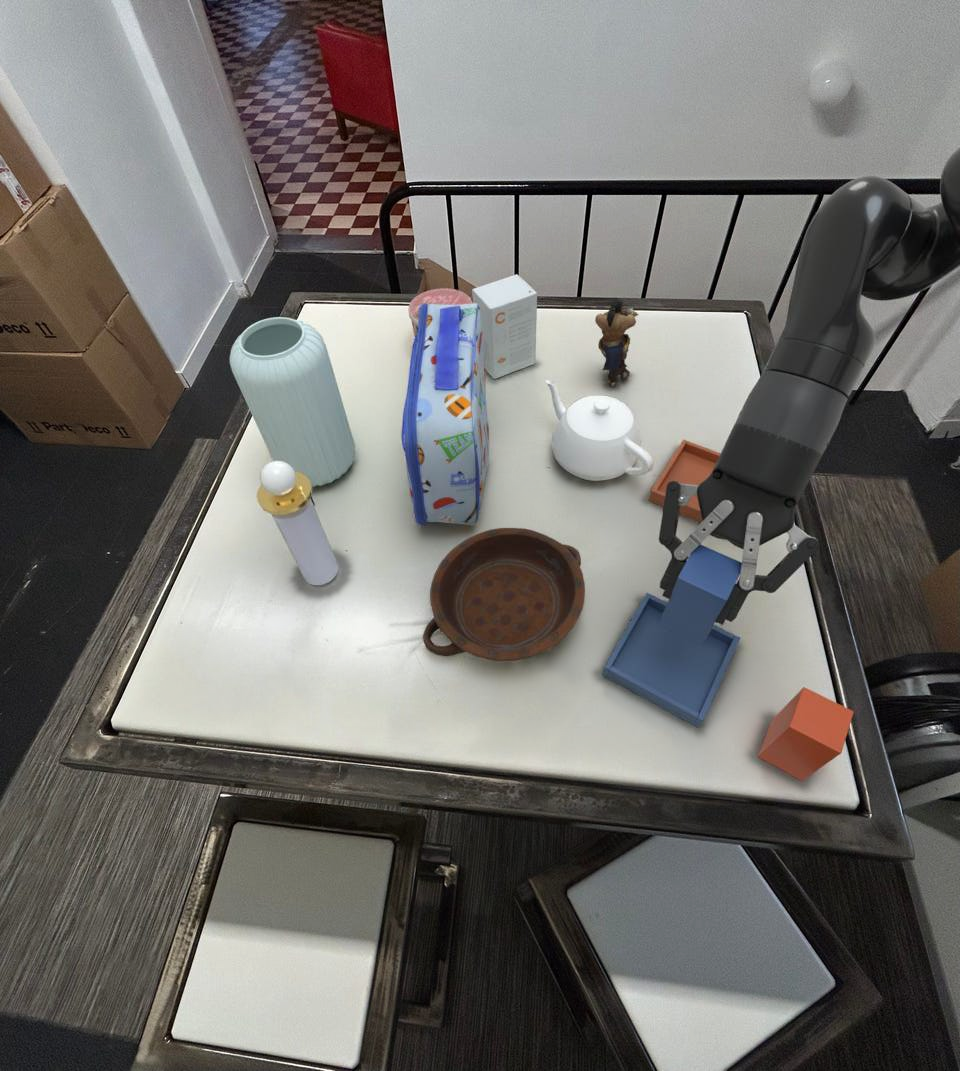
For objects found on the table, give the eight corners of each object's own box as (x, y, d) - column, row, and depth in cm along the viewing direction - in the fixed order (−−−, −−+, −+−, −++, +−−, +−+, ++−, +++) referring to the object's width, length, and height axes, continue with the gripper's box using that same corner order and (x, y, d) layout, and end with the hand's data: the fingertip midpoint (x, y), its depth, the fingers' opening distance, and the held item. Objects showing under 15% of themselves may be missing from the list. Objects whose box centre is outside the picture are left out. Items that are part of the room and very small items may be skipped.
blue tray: (735, 645, 70) (740, 637, 68) (698, 727, 65) (703, 720, 63) (643, 601, 74) (646, 592, 72) (602, 674, 69) (604, 667, 67)
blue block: (717, 612, 62) (744, 563, 55) (701, 647, 60) (727, 600, 53) (675, 592, 64) (696, 542, 56) (658, 625, 62) (677, 577, 54)
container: (401, 351, 105) (394, 310, 98) (442, 322, 109) (438, 280, 103) (447, 375, 101) (442, 333, 94) (487, 344, 105) (486, 302, 99)
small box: (517, 344, 105) (517, 272, 94) (536, 364, 101) (538, 292, 91) (475, 359, 103) (470, 288, 92) (493, 380, 99) (490, 309, 89)
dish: (625, 610, 73) (631, 589, 69) (475, 719, 66) (473, 702, 62) (533, 520, 82) (534, 496, 78) (392, 607, 75) (385, 586, 71)
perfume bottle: (347, 586, 77) (303, 479, 61) (301, 597, 76) (245, 493, 60) (341, 550, 80) (298, 440, 64) (297, 560, 80) (243, 452, 64)
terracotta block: (815, 743, 63) (854, 711, 56) (802, 781, 61) (841, 753, 54) (771, 720, 65) (803, 686, 57) (757, 756, 63) (789, 726, 55)
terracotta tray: (757, 479, 85) (762, 468, 83) (729, 535, 79) (733, 525, 77) (680, 449, 88) (683, 439, 87) (648, 500, 83) (651, 490, 81)
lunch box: (423, 403, 97) (403, 272, 79) (488, 401, 96) (483, 269, 79) (411, 544, 80) (383, 419, 63) (490, 542, 80) (484, 416, 62)
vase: (264, 480, 88) (201, 352, 71) (310, 429, 94) (263, 299, 76) (330, 505, 85) (281, 377, 67) (373, 451, 91) (339, 320, 73)
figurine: (603, 399, 95) (616, 315, 83) (580, 380, 98) (590, 296, 86) (637, 382, 98) (654, 297, 85) (614, 364, 100) (627, 279, 88)
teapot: (513, 439, 91) (513, 385, 83) (573, 401, 96) (579, 347, 87) (612, 518, 82) (623, 466, 73) (673, 473, 86) (690, 418, 78)
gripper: (695, 401, 52) (613, 580, 56) (874, 465, 47) (770, 656, 51) (703, 411, 59) (629, 570, 63) (860, 468, 54) (769, 637, 58)
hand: (693, 608), depth 57 cm, fingers closed on blue block, 4 cm apart
